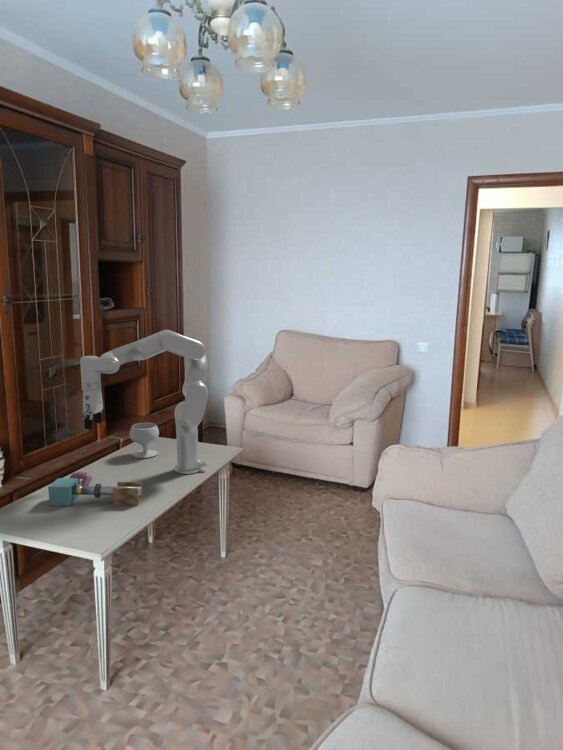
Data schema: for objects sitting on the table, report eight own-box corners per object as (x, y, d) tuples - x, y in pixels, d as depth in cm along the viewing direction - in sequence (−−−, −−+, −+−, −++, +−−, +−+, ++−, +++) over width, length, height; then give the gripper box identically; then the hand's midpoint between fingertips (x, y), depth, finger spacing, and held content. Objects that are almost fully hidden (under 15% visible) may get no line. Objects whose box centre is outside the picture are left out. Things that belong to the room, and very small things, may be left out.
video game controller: (90, 490, 228) (94, 473, 230) (84, 489, 224) (88, 472, 226) (71, 487, 231) (75, 470, 233) (64, 486, 227) (68, 469, 229)
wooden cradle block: (142, 498, 216) (142, 482, 215) (138, 505, 209) (137, 488, 208) (119, 497, 216) (118, 481, 215) (113, 505, 209) (112, 488, 208)
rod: (143, 494, 215) (142, 481, 214) (139, 500, 210) (138, 487, 209) (79, 494, 215) (78, 481, 214) (73, 499, 210) (72, 486, 209)
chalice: (165, 452, 271) (164, 423, 269) (148, 461, 259) (146, 430, 256) (142, 449, 277) (141, 420, 274) (124, 457, 264) (123, 427, 262)
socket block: (79, 496, 217) (78, 478, 216) (70, 505, 209) (68, 487, 207) (59, 496, 218) (58, 478, 216) (49, 505, 209) (48, 486, 207)
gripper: (91, 390, 216) (94, 431, 219) (108, 381, 233) (110, 420, 236) (73, 389, 216) (76, 431, 219) (90, 381, 233) (93, 420, 236)
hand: (93, 425), depth 228 cm, fingers open, 9 cm apart
